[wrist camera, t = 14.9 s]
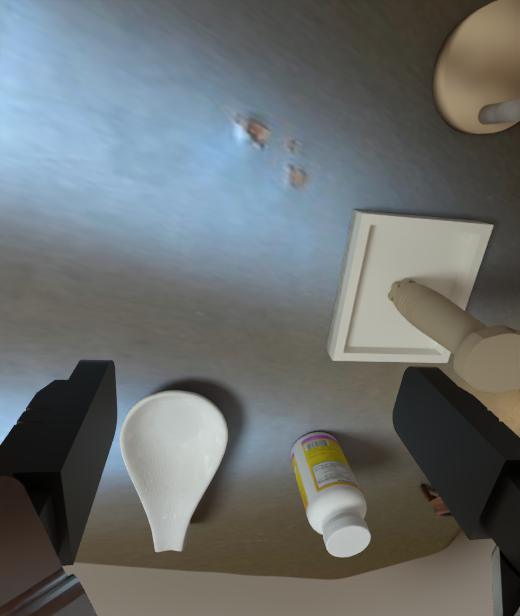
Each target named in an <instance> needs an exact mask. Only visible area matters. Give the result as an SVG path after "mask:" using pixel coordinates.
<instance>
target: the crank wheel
mask: <svg viewBox="0 0 520 616" xmlns="http://www.w3.org/2000/svg"><path fill="white" fill-rule="evenodd" d="M432 92H433V99H434V102H435V106H436V108H437V111H438V113H439V115H440V116H441V118H442V119H443V120H444V122H445V123H446V124H447V125H448V126H450V127H451V128H452V129H454V130H456V131H458V132H461V133H465V134H485V133H495V132H499V131H502V130H504V129H507V128H509V127H511V126H513V125H514V124H516V123H517V122H518V121H520V0H498V1H495V2H493V3H490V4H489V5H487V6H485V7H483V8H481V9H479V10H477V11H475V12H473V13H472V14H470V15H468V16H467V17H465V18H464V19H463V20H462V21H460V22H459V23H458V24H457V25H456V26H455V27H454V29H453V30H452V31H451V32H450V33H449V35H448V36H447V38H446V40H445V41H444V43H443V45H442V47H441V49H440V51H439V53H438V56H437V59H436V62H435V66H434V71H433V79H432Z"/></svg>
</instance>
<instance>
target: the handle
mask: <svg viewBox="0 0 520 616" xmlns="http://www.w3.org/2000/svg"><path fill="white" fill-rule="evenodd" d="M391 286H392V287H391V290H390V292H389V293H388V298H389V300H390V301H391V302H393V303H394V305H395V307H396V308H397V310H398V311H399V312H400V314H401V315H402V316H403V317H404V318H405V319H406V320H407V321H408V322H410V323H411V324H412V325H413V326H414V327H416V328H417V329H418V330H419V331H421V332H422V333H424V334H425V335H427V336H428V337H430V338H431V339H433V340H434V341H436V342H437V343H438V344H440V345H441V346H443V347H444V348H446V349H447V350H448V351H450V352H451V353H453V354H454V355H455V357H454V361H453V367H454V370H455V372H456V373H458V374H459V375H460V376H461V377H462V378H463V379H464V380H465V381H467V382H468V383H469V384H470V385H471V386H473V387H474V388H476V389H477V390H481V391H485V392H492V393H502V392H507V391H511V390H515V389H518V388H520V331H518V330H515V329H512V328H509V327H506V326H500V325H497V326H490V327H487V326H486V325H484V324H483V323H481V322H480V321H479V320H477V319H476V318H474V317H473V316H471V315H470V314H469V313H467V312H466V311H464V310H463V309H462V308H460V307H459V306H457V305H456V304H455V303H453V302H452V301H451V300H449V299H448V298H446V297H445V296H443V295H441V294H440V293H438V292H436V291H434V290H432V289H430V288H428V287H426V286H424V285H421V284H418V283H415V281H413V280H410V279H403V280H402V281H400V282H397V283H395V282H394V283H393V284H392V285H391Z"/></svg>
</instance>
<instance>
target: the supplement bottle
mask: <svg viewBox="0 0 520 616" xmlns="http://www.w3.org/2000/svg"><path fill="white" fill-rule="evenodd" d="M291 462H292V465H293V469H294V472H295V476H296V479H297V482H298V486H299V489H300V493H301V496H302V500H303V503H304V507H305V510H306V514H307V517H308V520H309V523H310V525H311V526H312V528H313V529H314V530H315V531H317V532H318V533H320V534H322V535H323V539H324V542H325V545H326V548H327V550H328V552H329V553H330V554H331V555H333V556H336V557H349V556H353V555H355V554H358V553H359V552H361V551H362V550H364V549H365V548H366V547H367V545H368V544H369V542H370V538H371V535H370V532H369V529H368V527H367V524H366V522H365V521H364V520H363V519H364V517H365V514H366V501H365V498H364V496H363V494H362V492H361V490H360V488H359V486H358V483H357V481H356V479H355V477H354V475H353V473H352V471H351V469H350V466H349V464H348V462H347V460H346V458H345V456H344V454H343V452H342V449H341V447H340V445H339V443H338V441H337V440H336V439H335V438H334V437H333V436H332V435H330V434H327V433H324V432H313V433H309V434H307V435H305V436H303V437H301V438H300V439H299V440H298V441H297V442H296V443H295V444H294V446H293V448H292V450H291Z"/></svg>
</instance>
